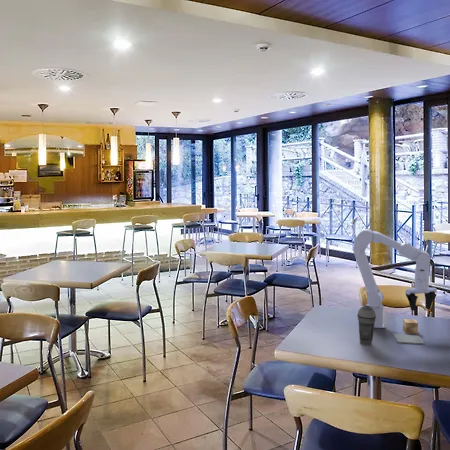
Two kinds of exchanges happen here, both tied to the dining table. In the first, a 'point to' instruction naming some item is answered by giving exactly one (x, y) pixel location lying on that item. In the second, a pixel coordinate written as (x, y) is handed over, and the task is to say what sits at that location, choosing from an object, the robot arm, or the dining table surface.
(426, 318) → the dining table surface
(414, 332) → the oak cube
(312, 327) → the dining table surface
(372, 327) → the beverage cup
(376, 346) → the dining table surface
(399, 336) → the coaster mat
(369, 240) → the robot arm
